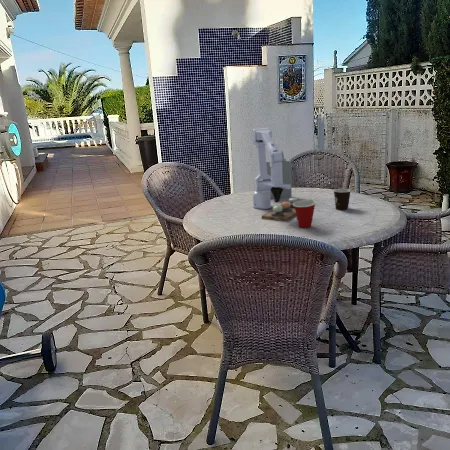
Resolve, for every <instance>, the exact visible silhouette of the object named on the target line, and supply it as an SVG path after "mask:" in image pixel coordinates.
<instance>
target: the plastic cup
mask: <svg viewBox="0 0 450 450" xmlns="http://www.w3.org/2000/svg"><path fill="white" fill-rule="evenodd" d="M316 203H317V201H316V200H312V199H305V200H304V199H301V200H298V201H297V202H294V203H293V206H294V208H295V210H296V216H295V217H296V221H297V224H298V227H299V229H310V228H311V227H312V224H313V219H314V212H315V208H316Z"/></svg>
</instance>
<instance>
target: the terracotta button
mask: <svg viewBox="0 0 450 450" xmlns="http://www.w3.org/2000/svg"><path fill="white" fill-rule="evenodd" d="M290 204H291V203H290V202H289V201H281V202H280V206H282V207H284V208H287V207H290Z"/></svg>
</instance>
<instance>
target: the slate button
mask: <svg viewBox="0 0 450 450" xmlns="http://www.w3.org/2000/svg"><path fill="white" fill-rule="evenodd" d="M297 201H299V200H298V198H297V197H291V198H288V202H290V204H293V203H294V202H297Z"/></svg>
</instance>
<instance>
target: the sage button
mask: <svg viewBox="0 0 450 450" xmlns="http://www.w3.org/2000/svg"><path fill="white" fill-rule="evenodd" d="M272 210H273V211H274V212H280V211H282V206H281V205H274V206H273V207H272Z"/></svg>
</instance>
